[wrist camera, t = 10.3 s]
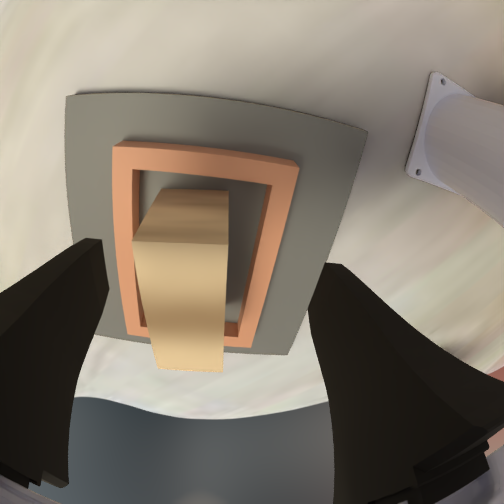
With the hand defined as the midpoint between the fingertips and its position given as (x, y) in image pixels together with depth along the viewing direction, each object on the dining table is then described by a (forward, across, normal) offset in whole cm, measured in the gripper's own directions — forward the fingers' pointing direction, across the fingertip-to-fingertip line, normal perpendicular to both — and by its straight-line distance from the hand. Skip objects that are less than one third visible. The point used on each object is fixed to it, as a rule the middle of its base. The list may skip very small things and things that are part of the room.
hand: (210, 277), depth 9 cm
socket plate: (+10, +1, +5) cm, 11 cm away
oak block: (+9, +1, +5) cm, 10 cm away
